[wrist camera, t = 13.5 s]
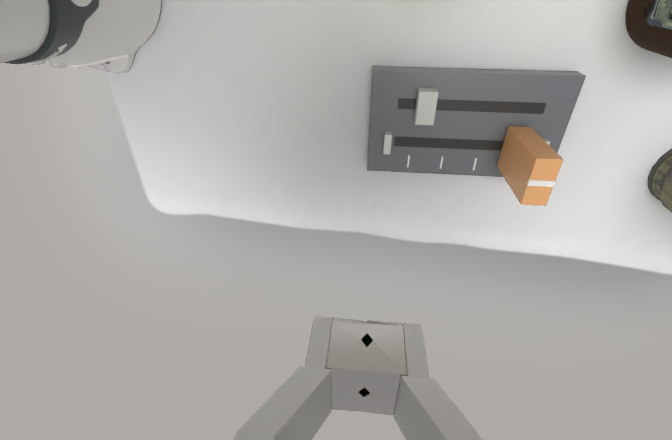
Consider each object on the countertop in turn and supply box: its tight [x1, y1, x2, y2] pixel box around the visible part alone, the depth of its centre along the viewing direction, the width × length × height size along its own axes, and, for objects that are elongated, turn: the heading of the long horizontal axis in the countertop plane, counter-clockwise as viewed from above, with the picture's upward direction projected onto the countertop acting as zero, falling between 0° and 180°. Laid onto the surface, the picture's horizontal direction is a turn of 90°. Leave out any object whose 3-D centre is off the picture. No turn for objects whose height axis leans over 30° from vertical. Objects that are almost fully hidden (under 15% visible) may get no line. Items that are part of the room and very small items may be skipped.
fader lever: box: [497, 126, 563, 206], centre depth 39 cm, size 2×5×9 cm, turn 179°
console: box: [367, 66, 586, 177], centre depth 42 cm, size 22×12×4 cm, turn 89°
